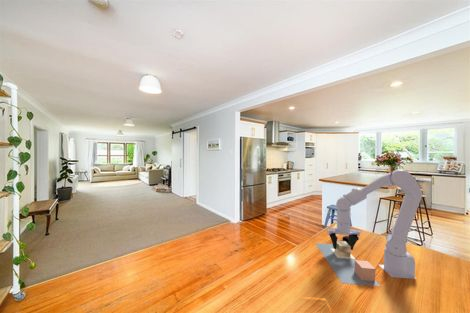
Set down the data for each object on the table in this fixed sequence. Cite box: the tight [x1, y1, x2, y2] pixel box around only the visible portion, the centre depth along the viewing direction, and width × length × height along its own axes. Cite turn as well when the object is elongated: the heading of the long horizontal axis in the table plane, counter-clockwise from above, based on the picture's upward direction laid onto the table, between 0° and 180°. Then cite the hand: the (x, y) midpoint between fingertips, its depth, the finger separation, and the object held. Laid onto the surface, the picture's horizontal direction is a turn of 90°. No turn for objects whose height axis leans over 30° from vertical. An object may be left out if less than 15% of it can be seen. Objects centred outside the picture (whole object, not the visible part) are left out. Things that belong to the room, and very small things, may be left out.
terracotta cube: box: [354, 259, 377, 281], centre depth 73 cm, size 5×5×5 cm
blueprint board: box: [315, 242, 381, 287], centre depth 84 cm, size 14×30×1 cm, turn 174°
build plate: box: [340, 235, 349, 244], centre depth 99 cm, size 12×7×5 cm, turn 18°
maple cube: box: [335, 240, 352, 257], centre depth 89 cm, size 5×5×5 cm
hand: (342, 248), depth 89 cm, fingers open, 7 cm apart
